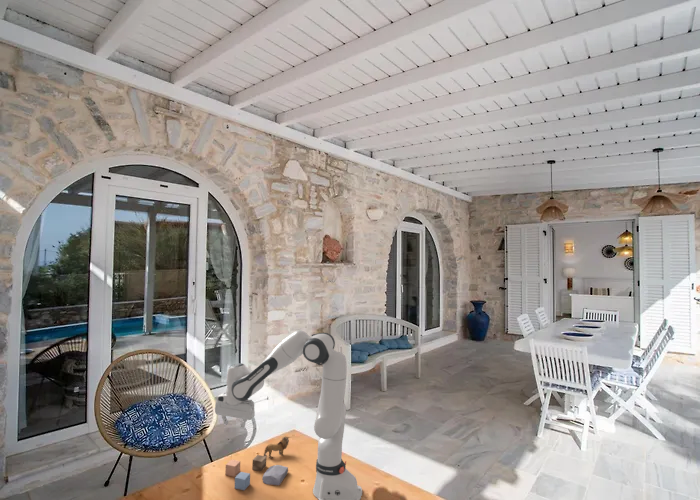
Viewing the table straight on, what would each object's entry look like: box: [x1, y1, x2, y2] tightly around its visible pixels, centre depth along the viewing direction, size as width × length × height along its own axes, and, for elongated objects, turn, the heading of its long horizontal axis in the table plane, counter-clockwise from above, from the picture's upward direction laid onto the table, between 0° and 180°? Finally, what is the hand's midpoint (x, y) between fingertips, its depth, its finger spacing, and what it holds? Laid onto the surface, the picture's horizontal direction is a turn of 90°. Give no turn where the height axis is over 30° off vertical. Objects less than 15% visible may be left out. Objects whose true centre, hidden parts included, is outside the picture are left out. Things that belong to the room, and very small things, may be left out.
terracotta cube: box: [225, 459, 241, 478], centre depth 192 cm, size 5×5×5 cm
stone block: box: [262, 464, 289, 486], centre depth 189 cm, size 12×5×10 cm
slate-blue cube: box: [234, 471, 251, 491], centre depth 181 cm, size 5×5×5 cm
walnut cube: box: [251, 454, 267, 472], centre depth 197 cm, size 5×5×5 cm
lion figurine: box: [263, 435, 290, 459], centre depth 209 cm, size 15×5×9 cm, turn 122°
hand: (234, 425), depth 192 cm, fingers open, 8 cm apart
